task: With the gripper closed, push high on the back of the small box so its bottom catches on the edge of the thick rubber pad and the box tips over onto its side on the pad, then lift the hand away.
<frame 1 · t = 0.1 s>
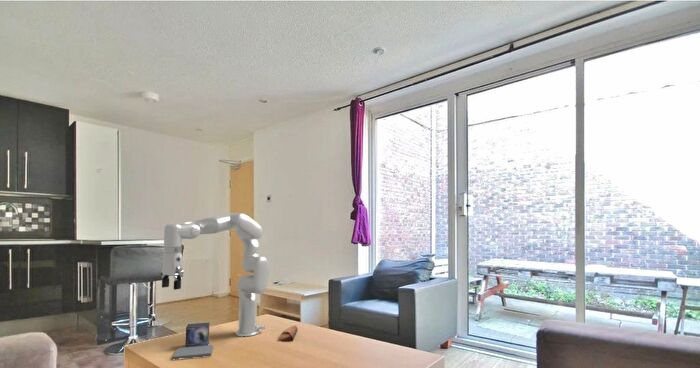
hand: (171, 288, 172), 31 cm above the table, tool pointing down, fingers open, 9 cm apart
small box: (197, 346, 185), on the table
rubber pad: (194, 353, 174), on the table
sunglasses case: (287, 337, 199), on the table
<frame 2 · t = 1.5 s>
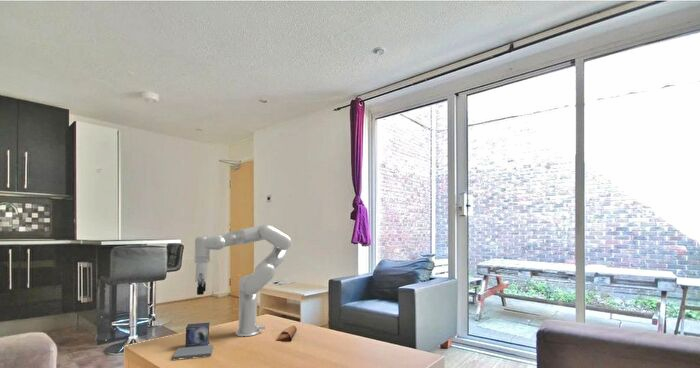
hand: (201, 292, 198), 24 cm above the table, tool pointing down, fingers open, 8 cm apart
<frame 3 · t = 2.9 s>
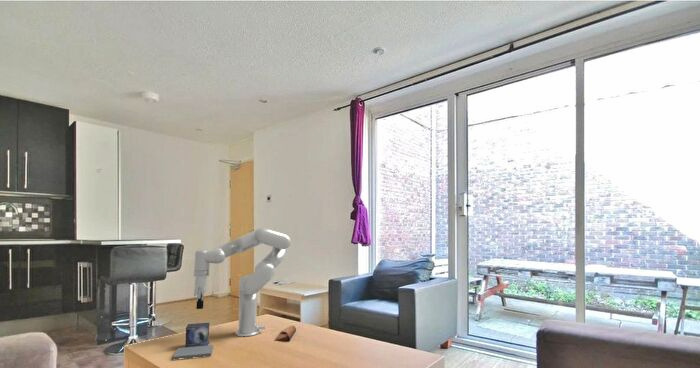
hand: (199, 308, 197), 16 cm above the table, tool pointing down, fingers closed
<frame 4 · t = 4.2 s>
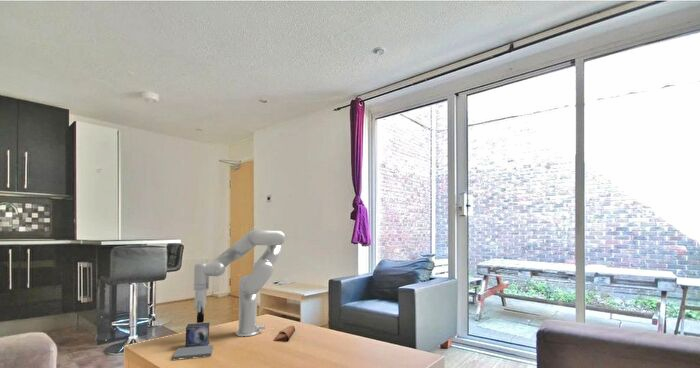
hand: (200, 322, 195), 9 cm above the table, tool pointing down, fingers closed
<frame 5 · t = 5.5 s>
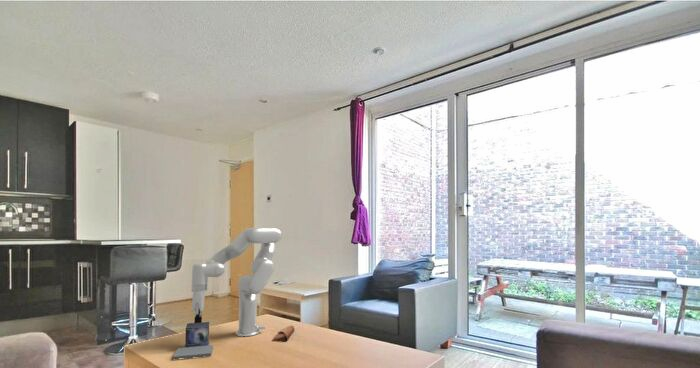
hand: (197, 324, 189), 9 cm above the table, tool pointing down, fingers closed
small box: (197, 346, 185), on the table, touching gripper
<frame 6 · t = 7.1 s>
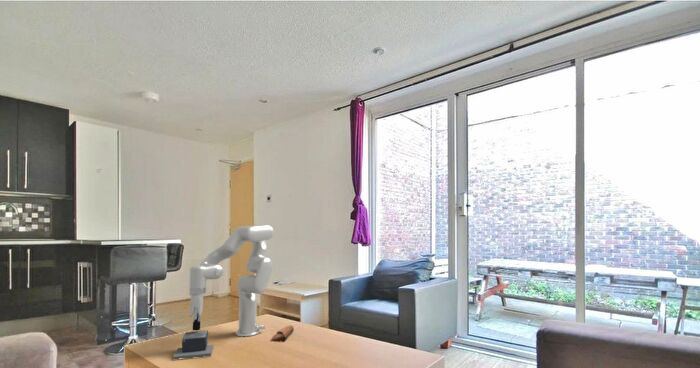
hand: (196, 329, 181), 9 cm above the table, tool pointing down, fingers closed
small box: (196, 337, 183), point 5 cm above the table, touching rubber pad
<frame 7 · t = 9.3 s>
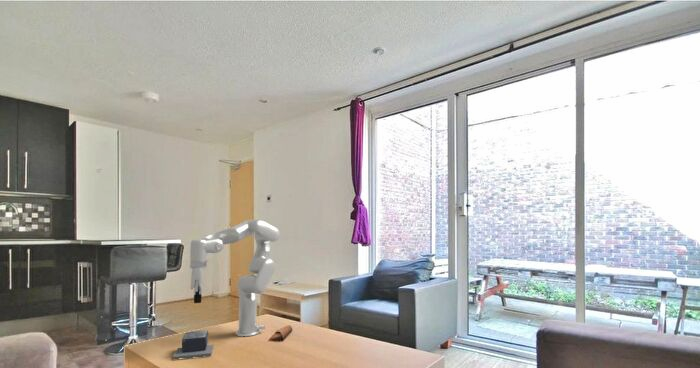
hand: (197, 302, 182), 22 cm above the table, tool pointing down, fingers closed
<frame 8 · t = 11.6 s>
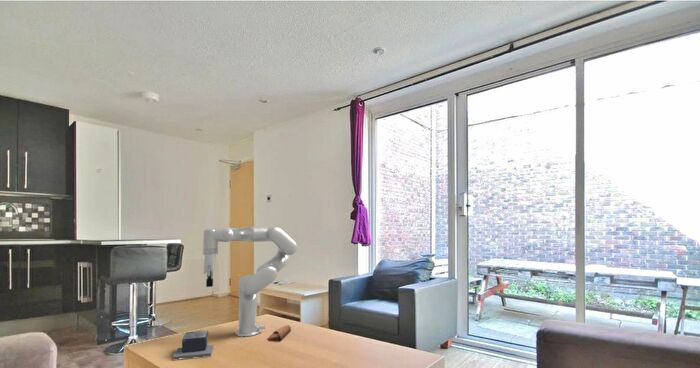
hand: (209, 286, 199), 27 cm above the table, tool pointing down, fingers closed
at the end: small box tilted 90°; small box touching rubber pad; small box inside the target area (4.8 cm from its centre), point 4.7 cm above the table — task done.
